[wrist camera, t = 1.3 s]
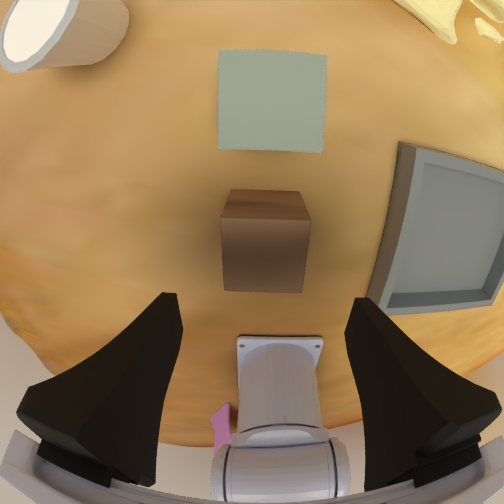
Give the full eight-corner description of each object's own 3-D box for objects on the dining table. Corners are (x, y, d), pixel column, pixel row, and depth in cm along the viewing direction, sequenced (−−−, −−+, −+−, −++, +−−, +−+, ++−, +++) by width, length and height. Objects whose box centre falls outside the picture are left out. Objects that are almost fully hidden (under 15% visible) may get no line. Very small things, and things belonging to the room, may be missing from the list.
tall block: (298, 135, 16) (322, 153, 10) (234, 133, 16) (218, 149, 10) (301, 75, 14) (326, 55, 8) (235, 72, 14) (218, 50, 8)
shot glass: (71, 90, 14) (3, 98, 8) (54, 26, 11) (-7, 19, 5) (149, 41, 13) (93, 17, 7) (126, -23, 10) (76, -57, 4)
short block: (293, 250, 20) (301, 292, 16) (232, 248, 20) (224, 290, 16) (298, 191, 18) (311, 220, 14) (230, 189, 18) (220, 218, 14)
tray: (480, 291, 22) (491, 305, 20) (365, 296, 22) (374, 316, 20) (518, 176, 15) (534, 185, 13) (398, 141, 16) (416, 147, 14)
